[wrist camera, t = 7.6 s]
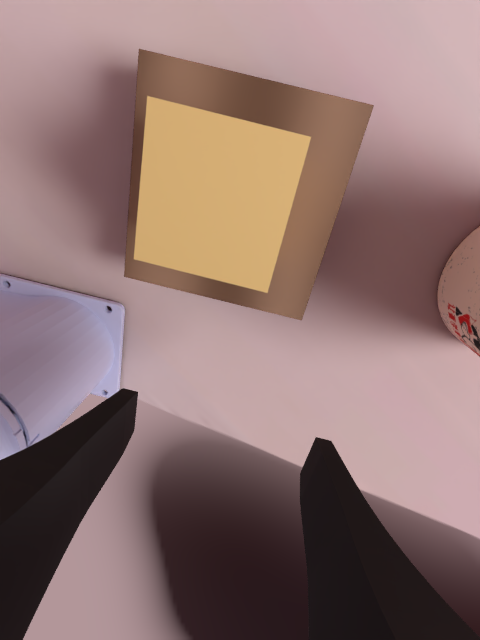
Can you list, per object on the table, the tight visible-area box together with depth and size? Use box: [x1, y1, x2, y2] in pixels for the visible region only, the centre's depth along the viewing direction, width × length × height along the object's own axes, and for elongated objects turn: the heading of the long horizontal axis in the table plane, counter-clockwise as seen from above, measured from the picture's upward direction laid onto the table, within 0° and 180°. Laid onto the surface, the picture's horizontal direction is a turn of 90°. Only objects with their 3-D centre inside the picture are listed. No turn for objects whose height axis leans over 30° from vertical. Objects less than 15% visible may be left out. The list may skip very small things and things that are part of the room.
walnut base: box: [124, 49, 374, 320], centre depth 16 cm, size 10×10×3 cm
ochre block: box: [134, 96, 311, 293], centre depth 12 cm, size 5×5×5 cm
